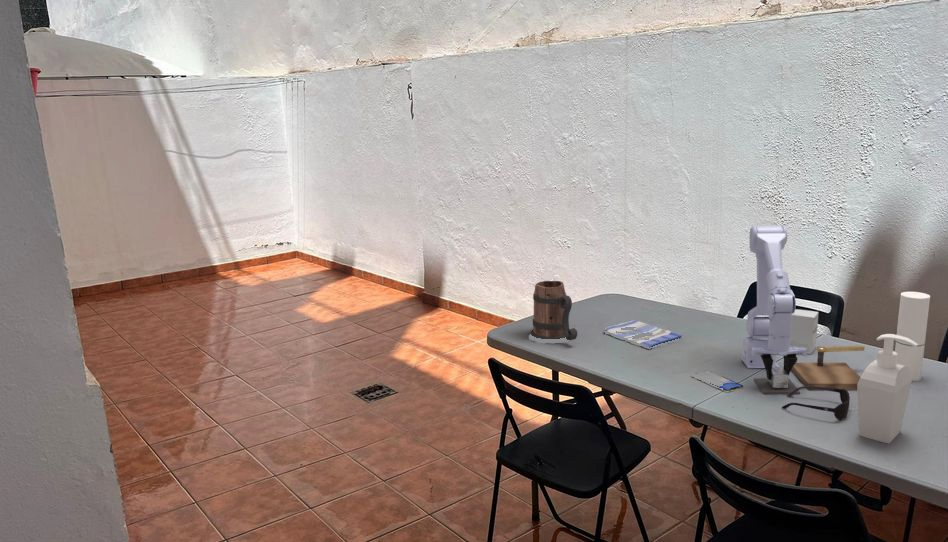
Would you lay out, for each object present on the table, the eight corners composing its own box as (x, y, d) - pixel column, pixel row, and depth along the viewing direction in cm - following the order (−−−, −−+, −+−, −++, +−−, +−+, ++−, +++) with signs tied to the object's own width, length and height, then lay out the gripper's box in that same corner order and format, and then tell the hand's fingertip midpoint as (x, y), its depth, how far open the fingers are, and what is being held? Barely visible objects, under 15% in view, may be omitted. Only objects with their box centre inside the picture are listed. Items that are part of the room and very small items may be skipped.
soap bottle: (898, 450, 165) (909, 347, 158) (852, 437, 172) (861, 338, 166) (914, 432, 173) (925, 333, 166) (870, 420, 180) (879, 325, 174)
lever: (818, 352, 209) (819, 349, 209) (815, 350, 211) (815, 346, 211) (865, 351, 209) (865, 347, 208) (861, 348, 211) (861, 345, 211)
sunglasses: (846, 425, 179) (847, 407, 177) (779, 413, 187) (781, 396, 185) (850, 405, 190) (851, 388, 188) (787, 394, 198) (788, 378, 197)
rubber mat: (763, 394, 198) (763, 392, 198) (753, 380, 208) (754, 378, 208) (800, 394, 197) (800, 392, 197) (789, 380, 206) (789, 378, 206)
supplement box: (811, 354, 225) (814, 317, 222) (787, 350, 229) (789, 314, 226) (816, 347, 231) (819, 311, 228) (792, 344, 235) (795, 308, 232)
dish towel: (636, 324, 264) (636, 317, 263) (683, 341, 244) (684, 333, 244) (601, 334, 256) (601, 326, 255) (648, 352, 236) (648, 344, 235)
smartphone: (707, 372, 216) (707, 368, 216) (745, 388, 203) (745, 385, 203) (688, 377, 213) (688, 374, 213) (726, 394, 200) (726, 391, 200)
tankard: (518, 334, 258) (517, 282, 253) (556, 325, 266) (555, 275, 261) (554, 353, 238) (553, 296, 233) (594, 343, 245) (594, 288, 241)
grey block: (773, 387, 199) (773, 374, 198) (767, 379, 205) (767, 366, 204) (787, 387, 198) (788, 374, 198) (781, 379, 204) (782, 366, 203)
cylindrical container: (919, 373, 207) (928, 292, 201) (922, 382, 200) (931, 299, 194) (891, 370, 210) (899, 290, 204) (893, 379, 203) (902, 297, 197)
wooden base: (807, 389, 199) (809, 370, 198) (789, 368, 215) (791, 350, 213) (867, 390, 197) (868, 370, 196) (844, 368, 213) (846, 349, 211)
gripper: (757, 338, 195) (754, 383, 199) (811, 338, 194) (808, 383, 197) (750, 330, 202) (748, 374, 205) (802, 330, 200) (799, 374, 204)
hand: (777, 378), depth 202 cm, fingers closed on grey block, 4 cm apart
